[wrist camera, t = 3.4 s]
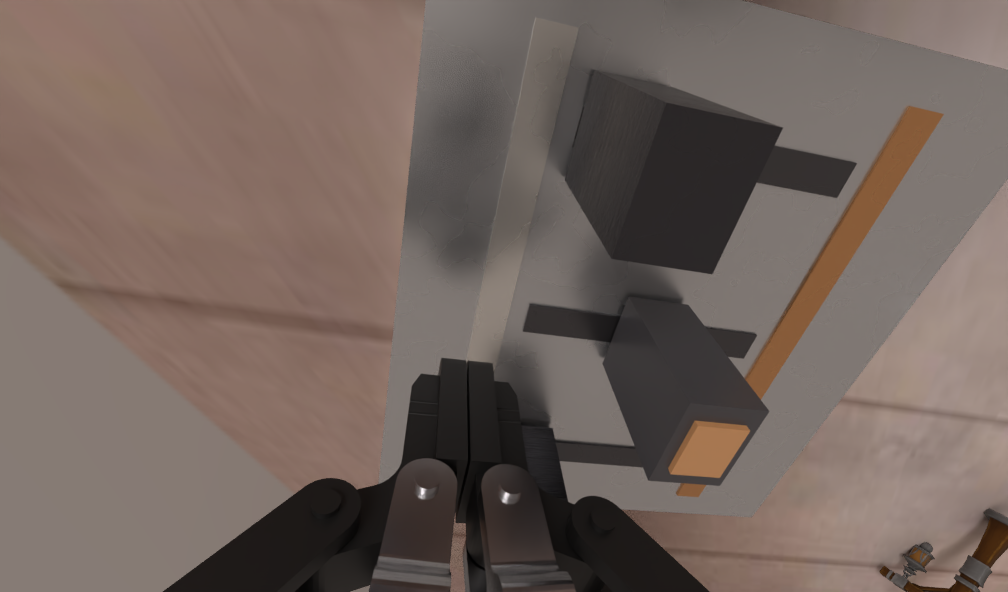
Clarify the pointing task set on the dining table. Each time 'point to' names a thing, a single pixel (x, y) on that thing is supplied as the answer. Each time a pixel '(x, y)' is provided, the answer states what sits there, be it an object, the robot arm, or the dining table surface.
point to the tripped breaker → (679, 394)
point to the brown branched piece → (975, 569)
